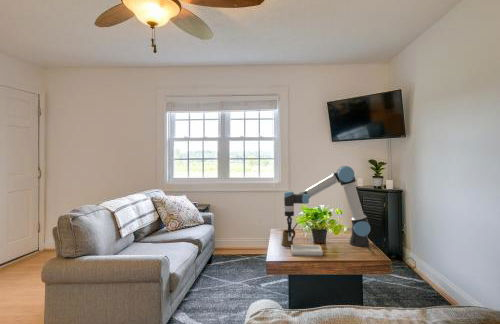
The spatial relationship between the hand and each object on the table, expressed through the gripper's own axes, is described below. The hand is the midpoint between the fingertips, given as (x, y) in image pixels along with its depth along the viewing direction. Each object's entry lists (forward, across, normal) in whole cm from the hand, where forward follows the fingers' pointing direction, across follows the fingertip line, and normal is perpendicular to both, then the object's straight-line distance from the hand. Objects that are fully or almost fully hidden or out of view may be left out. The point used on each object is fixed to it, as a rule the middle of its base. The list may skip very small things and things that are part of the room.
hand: (289, 239), depth 250 cm
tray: (+5, +18, +12) cm, 22 cm away
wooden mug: (+4, +1, 0) cm, 4 cm away
